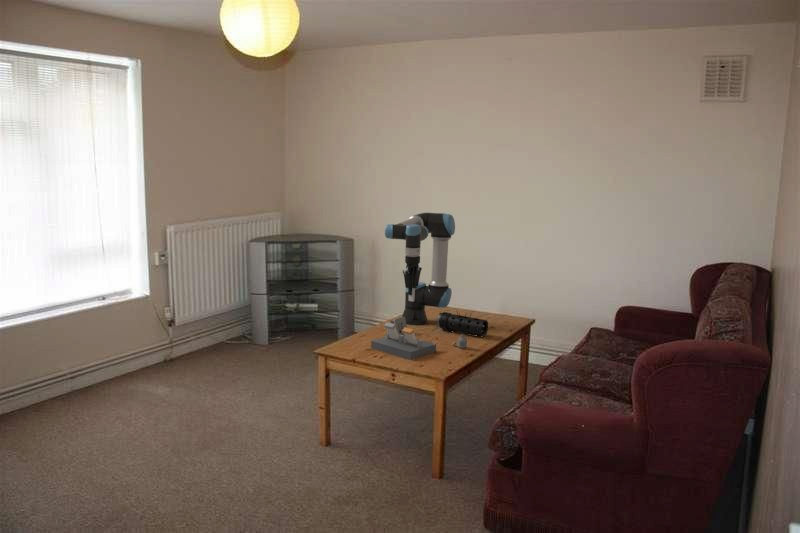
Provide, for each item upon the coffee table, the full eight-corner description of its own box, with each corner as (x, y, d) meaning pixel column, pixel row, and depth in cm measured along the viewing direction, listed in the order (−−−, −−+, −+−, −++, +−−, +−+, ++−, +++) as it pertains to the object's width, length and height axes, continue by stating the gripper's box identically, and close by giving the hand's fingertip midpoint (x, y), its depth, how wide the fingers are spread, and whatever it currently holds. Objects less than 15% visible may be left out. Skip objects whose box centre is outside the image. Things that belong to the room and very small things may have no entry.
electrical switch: (397, 336, 361) (396, 319, 360) (390, 335, 364) (389, 318, 363) (408, 333, 368) (407, 316, 367) (400, 332, 371) (400, 316, 370)
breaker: (392, 336, 343) (386, 322, 338) (401, 338, 339) (395, 324, 334) (389, 339, 341) (383, 325, 336) (398, 341, 337) (392, 327, 332)
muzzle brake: (480, 339, 360) (481, 321, 359) (435, 331, 375) (436, 313, 373) (488, 336, 368) (489, 317, 366) (443, 327, 383) (444, 310, 381)
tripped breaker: (410, 340, 335) (404, 327, 330) (419, 343, 331) (413, 329, 326) (407, 344, 334) (401, 330, 328) (416, 346, 330) (410, 332, 325)
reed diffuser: (471, 348, 344) (474, 310, 340) (466, 351, 338) (468, 313, 334) (454, 344, 349) (456, 307, 345) (448, 347, 343) (450, 310, 340)
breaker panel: (396, 340, 352) (397, 327, 351) (435, 351, 336) (436, 337, 335) (370, 348, 337) (371, 334, 336) (410, 360, 321) (411, 345, 320)
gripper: (410, 258, 329) (409, 304, 333) (426, 254, 339) (425, 299, 343) (398, 256, 333) (397, 301, 338) (414, 252, 343) (413, 297, 348)
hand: (411, 300), depth 341 cm, fingers closed
